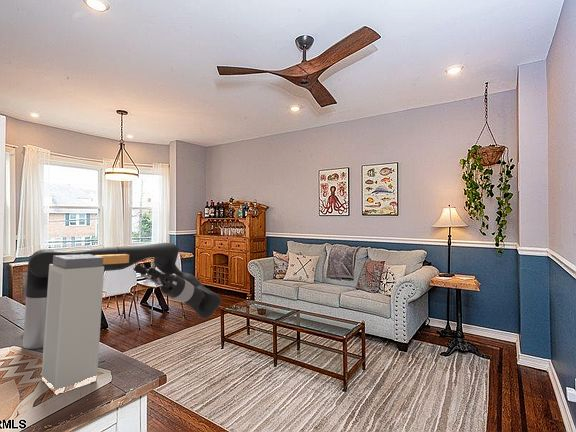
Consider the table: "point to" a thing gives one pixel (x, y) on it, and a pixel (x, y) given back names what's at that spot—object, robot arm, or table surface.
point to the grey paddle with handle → (88, 260)
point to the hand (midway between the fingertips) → (141, 268)
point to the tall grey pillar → (72, 325)
